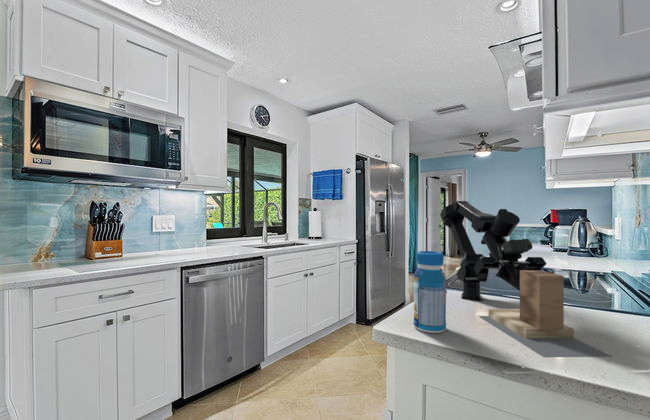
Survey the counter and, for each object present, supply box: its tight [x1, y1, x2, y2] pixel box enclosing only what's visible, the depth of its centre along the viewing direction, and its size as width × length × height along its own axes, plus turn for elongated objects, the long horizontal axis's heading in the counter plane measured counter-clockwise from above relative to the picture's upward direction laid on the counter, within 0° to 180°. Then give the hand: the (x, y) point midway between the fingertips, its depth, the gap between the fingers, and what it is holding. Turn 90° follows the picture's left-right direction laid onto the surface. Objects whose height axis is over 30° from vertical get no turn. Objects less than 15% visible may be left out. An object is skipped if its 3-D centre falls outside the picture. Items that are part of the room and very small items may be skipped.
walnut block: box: [519, 269, 565, 330], centre depth 77 cm, size 7×6×13 cm
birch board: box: [488, 308, 575, 338], centre depth 81 cm, size 16×12×2 cm
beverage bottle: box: [412, 250, 448, 334], centre depth 80 cm, size 8×8×20 cm
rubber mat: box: [477, 315, 613, 358], centre depth 77 cm, size 26×15×1 cm, turn 2°
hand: (523, 291), depth 83 cm, fingers closed
